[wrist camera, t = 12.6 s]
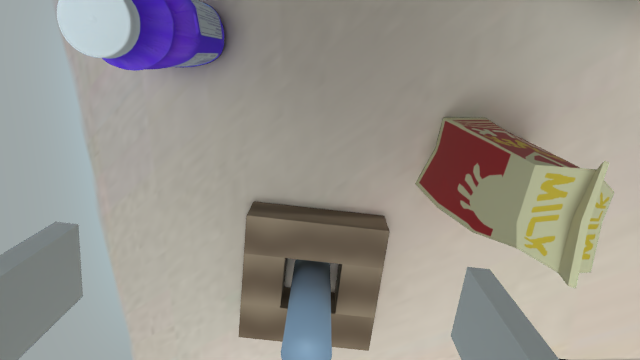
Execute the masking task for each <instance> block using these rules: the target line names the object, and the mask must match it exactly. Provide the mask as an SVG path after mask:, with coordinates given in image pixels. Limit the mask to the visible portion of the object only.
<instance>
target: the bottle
mask: <svg viewBox="0 0 640 360" xmlns="http://www.w3.org/2000/svg"><path fill="white" fill-rule="evenodd" d="M57 21H58V24H59V28H60V30H61V32H62V34H63V36H64V37H65V39H66V40H67V41H68V42H69V44H70V45H71V46H73V47H74V48H75V49H76V50H78V51H79V52H81V53H83V54H85V55H87V56H91V57H95V58H102V59H103V60H105V61H106V62H107V63H109V64H111V65H114V66H116V67H119V68H122V69H126V70H143V69H160V68H167V67H194V66H199V65H204V64H207V63H210V62H212V61H214V60H215V59H217V58H218V57H219V56H220V54H221V53H222V51H223V47H224V37H225V36H224V29H223V25H222V23H221V20H220V17H219V15H218V13H217V12H216V11H215V10H214V9H213V8H212V7H211V6H209V5H208V4H205V3H203V2H200V1H198V0H59V1H58V5H57Z"/></svg>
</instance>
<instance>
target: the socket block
mask: <svg viewBox="0 0 640 360" xmlns="http://www.w3.org/2000/svg"><path fill="white" fill-rule="evenodd" d="M388 237H389V228H388V226H387V223H386V220H385V217H384V216H379V215H370V214H361V213H352V212H343V211H334V210H325V209H316V208H307V207H298V206H289V205H280V204H271V203H262V202H253V204H252V206H251V208H250V210H249V212H248V214H247V217H246V232H245V248H244V263H243V278H242V294H241V309H240V324H239V337H244V338H253V339H263V340H272V341H282V342H283V336H284V330H285V323H286V317H287V310H288V304H289V297H290V291H291V288H286V287H284V282H285V271H286V261H287V258H290V259H300V260H309V261H318V262H327V263H336V264H339V266H338V273H337V280H336V287H335V293H332V292H331V343H332V347H339V348H348V349H358V350H367V351H369V346H370V340H371V334H372V329H373V323H374V317H375V311H376V306H377V300H378V294H379V289H380V283H381V277H382V271H383V266H384V260H385V254H386V249H387V243H388Z"/></svg>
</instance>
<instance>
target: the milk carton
mask: <svg viewBox="0 0 640 360" xmlns="http://www.w3.org/2000/svg"><path fill="white" fill-rule="evenodd" d="M608 165H609V162H606V161H604V162H603V163H602V164H601V165H600V167H599V168H598V169H597V170H595V169H582V168H579V167H578V166H576V165H574V164H572V163H570V162H568V161H566V160H564V159H562V158H560V157H558V156H556V155H554V154H552V153H550V152H548V151H546V150H544V149H542V148H540V147H538V146H536V145H534V144H531V143H529V142H527V141H525V140H523V139H521V138H519V137H517V136H515V135H513V134H511V133H509V132H507V131H505V130H504V129H502V128H501V127H499V126H497V125H496V124H494V123H493V122H491V121H489V120H488V119H486V118H443V121H442V125H441V129H440V133H439V137H438V141H437V145H436V148H435V150H434V152H433V153H432V155H431V157H430V159H429V161H428V162H427V164H426V166H425V168H424V169H423V171H422V173H421V175H420V177H419V178H418V180H417V182H416V185H417V186H418V187H419V188H420V189H421V190H422V191H423V193H424V194H425V195H426V196H427V197H428V198H429V199H430V200H431V201H432V202H433V203H434V204H435V205H436V206H437V207H438V208H439V209H440V210H442V211H443V212H445V213H446V214H447V215H449V216H450V217H452V218H453V219H455V220H456V221H457V222H459V223H460V224H462V225H463V226H464V227H466V228H467V229H469V230H470V231H472V232H474V233H476V234H479V235H482V236H485V237H487V238H490V239H493V240H496V241H498V242H501V243H504V244H507V245H509V246H512V247H515V248H517V249H519V250H521V251H522V252H524V253H526V254H527V255H529V256H531V257H532V258H534V259H536V260H537V261H539V262H541V263H543V264H544V265H546V266H548V267H549V268H551V269H553V270H554V271H556V272H558V273H559V275H560V276H561V277H562V279H563V280H564V281H565V283H566V284H567V285H568V286H570V287H573V288H576V285H577V280H578V275H579V273H588V272H591V269H592V264H593V260H594V256H595V251H596V247H597V242H598V238H599V234H600V229H601V225H602V221H603V219H604V216H605V214H606V212H607V209H608V207H609V204H610V202H611V199H612V197H613V194H614V191H613V190H612V189H611V188H610V187H609V186H608V185H607V183H606V182H605V181H604V177H605V174H606V171H607V168H608Z"/></svg>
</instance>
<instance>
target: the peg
mask: <svg viewBox="0 0 640 360" xmlns="http://www.w3.org/2000/svg"><path fill="white" fill-rule="evenodd" d="M281 357H282V360H331V357H332V343H331V285H330V263H327V262H318V261H309V260H300V259H296V261H295V265H294V272H293V278H292V284H291V291H290V297H289V304H288V310H287V317H286V323H285V330H284V336H283V343H282V349H281Z"/></svg>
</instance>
